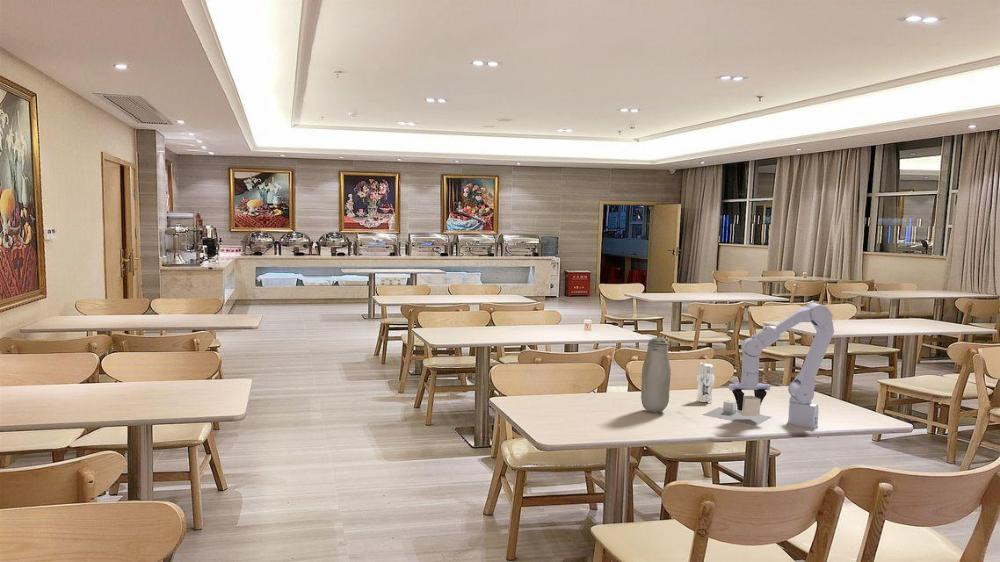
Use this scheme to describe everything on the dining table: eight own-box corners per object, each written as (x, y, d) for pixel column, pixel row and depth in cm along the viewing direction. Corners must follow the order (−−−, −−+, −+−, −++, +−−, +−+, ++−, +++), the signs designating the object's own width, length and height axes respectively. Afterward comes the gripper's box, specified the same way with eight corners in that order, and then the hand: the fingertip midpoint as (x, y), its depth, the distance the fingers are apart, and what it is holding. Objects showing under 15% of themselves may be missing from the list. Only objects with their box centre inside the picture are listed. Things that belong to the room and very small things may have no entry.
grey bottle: (657, 416, 266) (660, 340, 264) (635, 410, 274) (638, 336, 272) (673, 412, 272) (677, 338, 270) (652, 407, 280) (655, 334, 278)
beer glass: (699, 398, 297) (701, 362, 296) (716, 401, 293) (718, 364, 292) (692, 401, 292) (694, 364, 291) (708, 404, 287) (711, 366, 286)
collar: (752, 411, 263) (752, 395, 262) (759, 415, 257) (760, 399, 257) (736, 411, 262) (737, 395, 262) (743, 416, 256) (744, 399, 256)
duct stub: (735, 415, 271) (736, 401, 270) (732, 417, 268) (733, 403, 268) (726, 413, 273) (727, 400, 273) (722, 415, 270) (723, 401, 270)
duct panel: (772, 420, 266) (772, 416, 266) (757, 428, 253) (757, 425, 253) (718, 410, 278) (719, 407, 278) (702, 418, 266) (702, 414, 265)
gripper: (764, 370, 263) (762, 407, 264) (725, 370, 262) (724, 407, 263) (773, 374, 256) (771, 412, 257) (734, 373, 255) (732, 412, 256)
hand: (748, 409), depth 259 cm, fingers closed on collar, 6 cm apart
